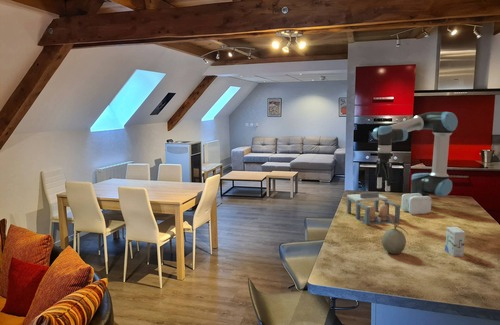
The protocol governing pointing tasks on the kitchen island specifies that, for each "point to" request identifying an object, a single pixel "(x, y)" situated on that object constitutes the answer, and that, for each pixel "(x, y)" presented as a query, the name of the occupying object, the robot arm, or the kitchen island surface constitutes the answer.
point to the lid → (367, 197)
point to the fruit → (394, 240)
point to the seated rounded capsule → (372, 213)
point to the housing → (367, 211)
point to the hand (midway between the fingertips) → (383, 189)
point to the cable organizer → (416, 203)
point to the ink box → (455, 241)
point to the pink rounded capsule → (383, 212)
